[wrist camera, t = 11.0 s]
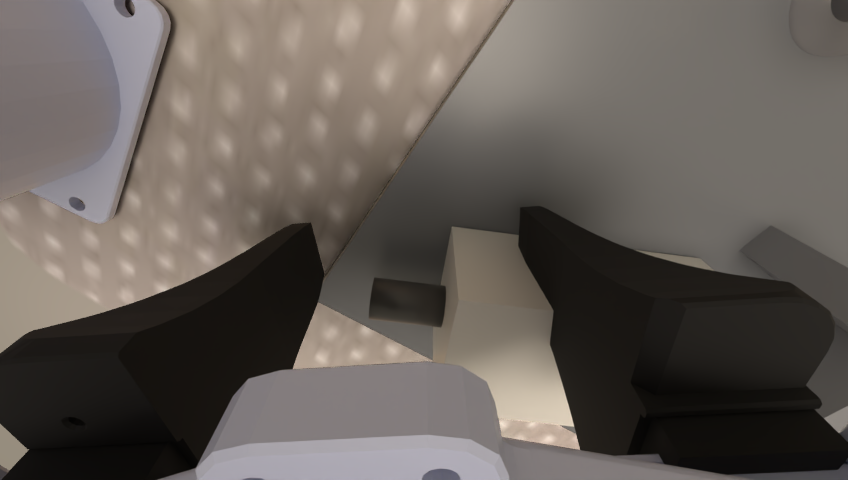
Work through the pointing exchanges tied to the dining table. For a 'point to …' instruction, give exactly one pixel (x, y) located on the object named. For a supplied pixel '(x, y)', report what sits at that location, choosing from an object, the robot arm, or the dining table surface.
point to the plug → (490, 321)
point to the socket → (636, 151)
